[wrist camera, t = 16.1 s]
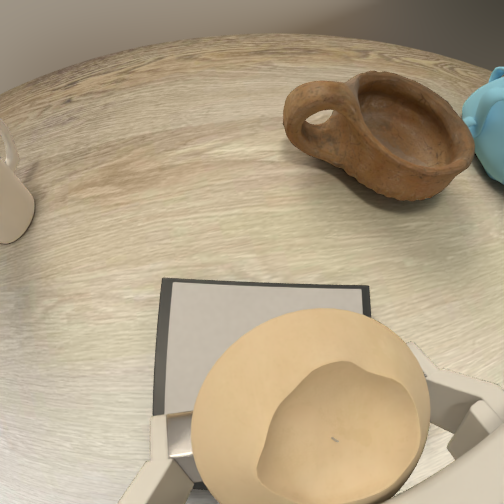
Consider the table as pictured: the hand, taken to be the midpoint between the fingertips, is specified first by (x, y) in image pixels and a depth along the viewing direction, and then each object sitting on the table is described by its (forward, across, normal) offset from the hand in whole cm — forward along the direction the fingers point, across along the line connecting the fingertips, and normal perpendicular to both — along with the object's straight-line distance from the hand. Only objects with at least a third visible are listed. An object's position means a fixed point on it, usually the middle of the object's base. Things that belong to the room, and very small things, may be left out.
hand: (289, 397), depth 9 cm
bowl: (+22, -16, -2) cm, 27 cm away
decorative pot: (+21, -40, -1) cm, 45 cm away
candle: (+4, 0, +4) cm, 6 cm away
